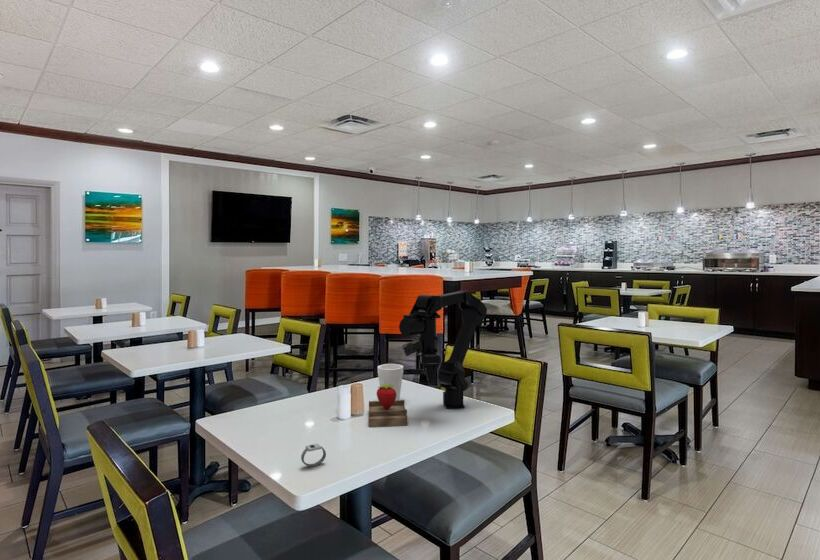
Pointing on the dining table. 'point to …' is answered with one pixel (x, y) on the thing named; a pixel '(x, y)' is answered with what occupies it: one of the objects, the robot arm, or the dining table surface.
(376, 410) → the stand
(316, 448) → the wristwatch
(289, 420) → the dining table surface
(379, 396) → the strawberry
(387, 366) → the foam cup
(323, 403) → the dining table surface
